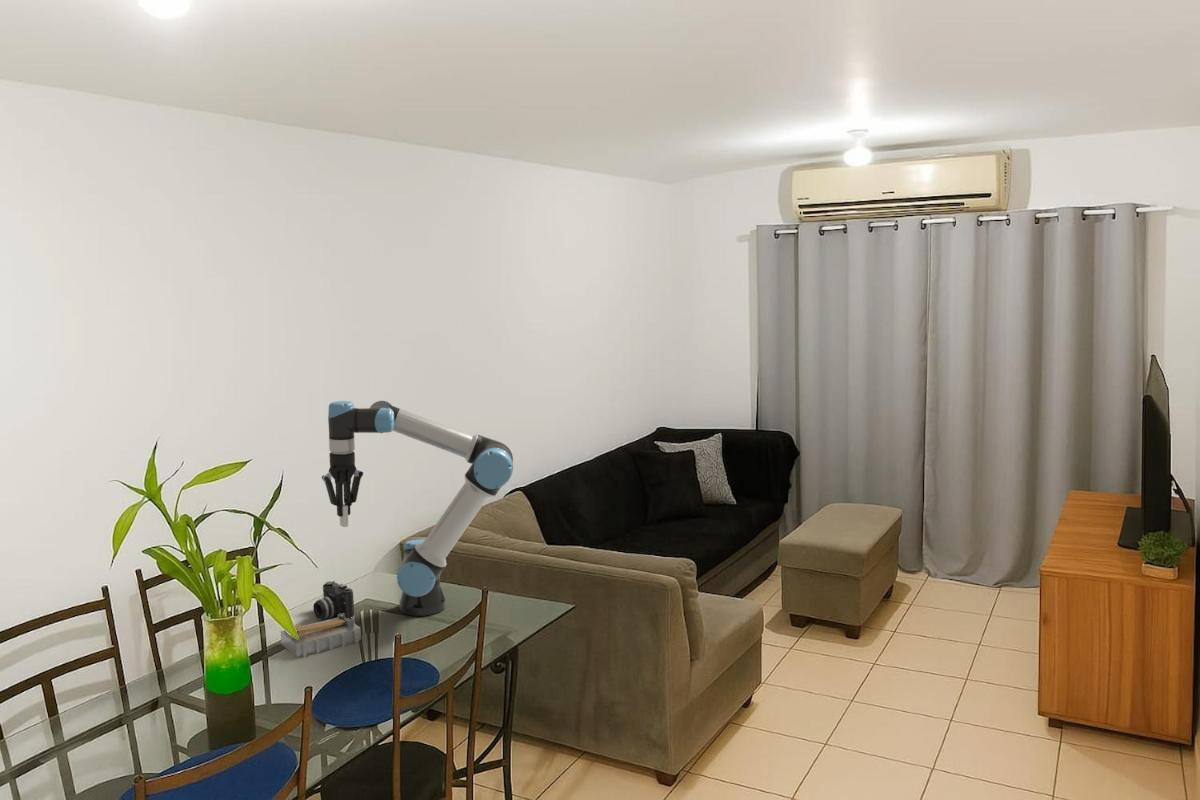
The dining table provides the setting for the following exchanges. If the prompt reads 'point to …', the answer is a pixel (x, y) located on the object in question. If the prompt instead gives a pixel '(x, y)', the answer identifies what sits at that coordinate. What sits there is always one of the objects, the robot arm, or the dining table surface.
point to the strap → (320, 626)
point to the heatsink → (322, 638)
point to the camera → (335, 601)
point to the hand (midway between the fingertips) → (344, 525)
